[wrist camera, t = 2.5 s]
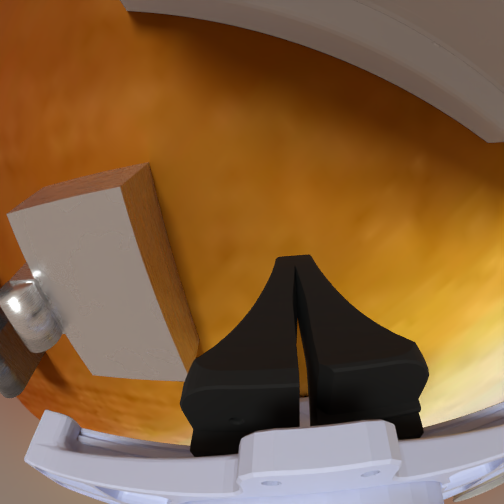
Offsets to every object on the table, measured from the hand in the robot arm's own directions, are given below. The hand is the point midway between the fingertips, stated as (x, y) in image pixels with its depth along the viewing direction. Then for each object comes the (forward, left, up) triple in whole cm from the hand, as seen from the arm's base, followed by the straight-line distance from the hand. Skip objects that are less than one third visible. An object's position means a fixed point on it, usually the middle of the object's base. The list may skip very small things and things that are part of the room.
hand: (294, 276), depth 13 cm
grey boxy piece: (0, +10, -1) cm, 10 cm away
